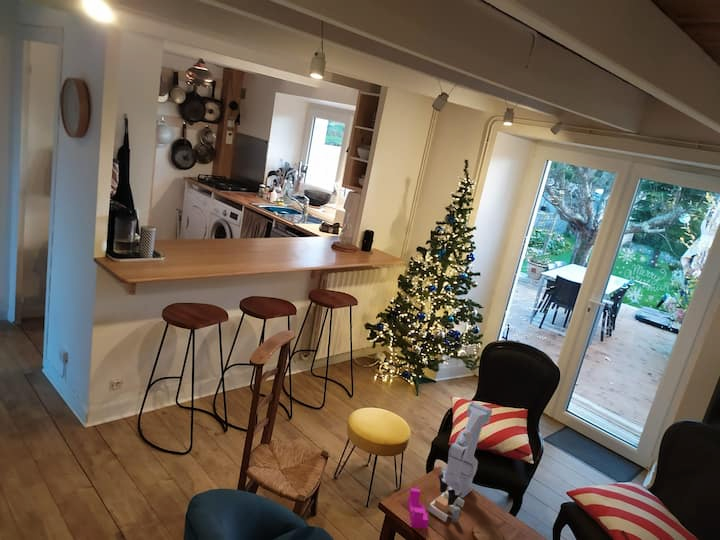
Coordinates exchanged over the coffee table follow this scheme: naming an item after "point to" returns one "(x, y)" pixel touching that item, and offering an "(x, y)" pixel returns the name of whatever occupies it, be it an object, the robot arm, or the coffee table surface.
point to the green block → (447, 497)
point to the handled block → (447, 508)
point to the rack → (439, 513)
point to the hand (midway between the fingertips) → (446, 498)
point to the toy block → (417, 510)
